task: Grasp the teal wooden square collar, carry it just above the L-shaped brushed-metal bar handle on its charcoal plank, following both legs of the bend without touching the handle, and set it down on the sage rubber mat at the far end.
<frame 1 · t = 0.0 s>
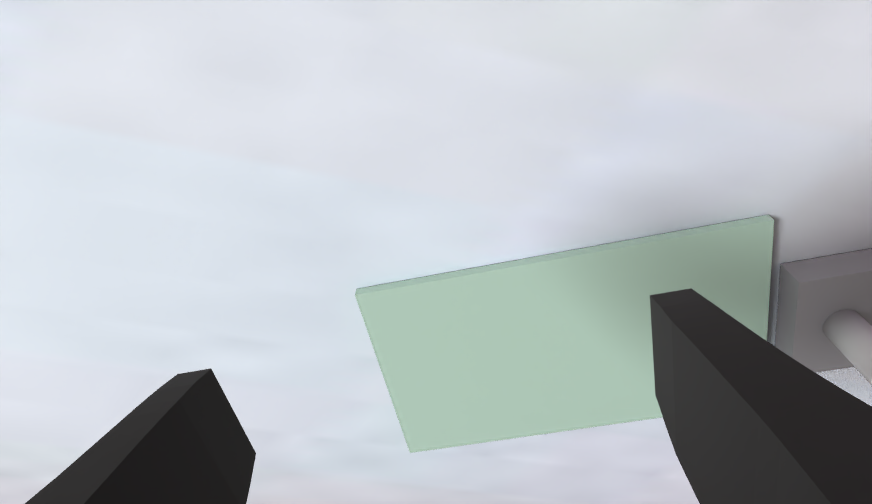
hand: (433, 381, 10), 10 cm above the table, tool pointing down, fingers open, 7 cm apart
end mat: (566, 344, 22), on the table
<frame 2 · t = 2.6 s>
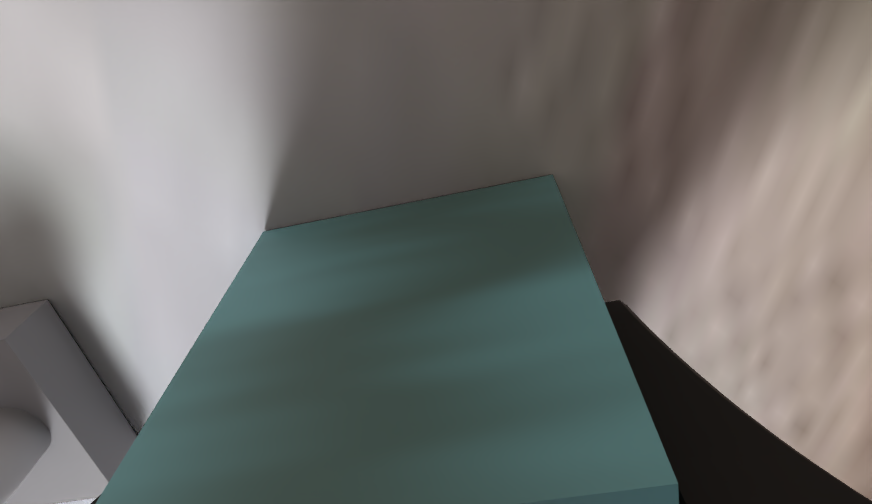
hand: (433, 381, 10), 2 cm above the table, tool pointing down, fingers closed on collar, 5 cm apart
collar: (436, 322, 11), on the table, touching gripper
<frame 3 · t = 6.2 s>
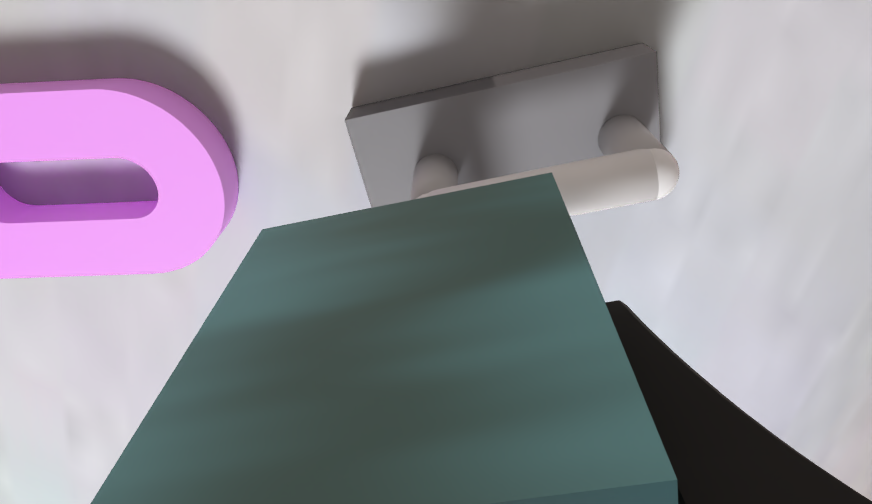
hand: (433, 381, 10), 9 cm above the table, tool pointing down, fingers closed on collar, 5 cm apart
bracket: (32, 173, 18), on the table
bar handle: (436, 159, 17), on the table
collar: (435, 320, 11), point 7 cm above the table, touching gripper
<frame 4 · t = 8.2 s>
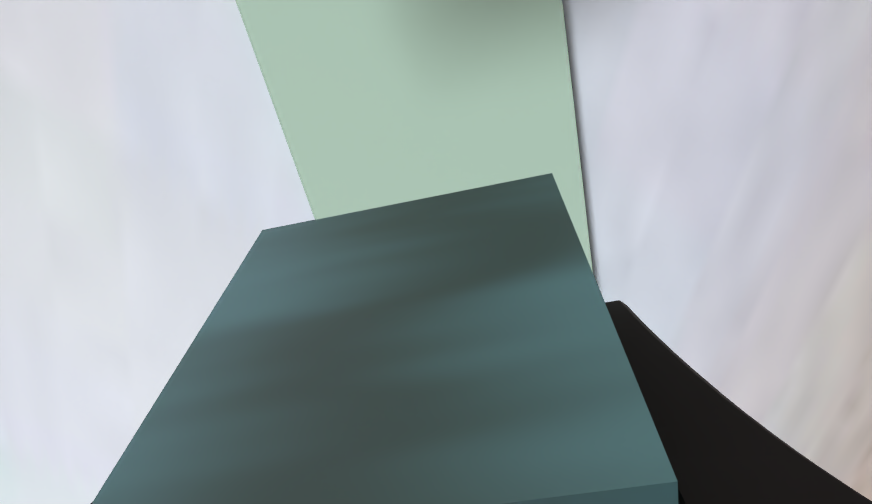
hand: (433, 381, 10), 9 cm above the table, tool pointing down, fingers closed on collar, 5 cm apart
end mat: (443, 184, 17), on the table
collar: (435, 321, 11), point 7 cm above the table, touching gripper
when the fingers open (4 cm above the table, at t = 9.9 s): collar drops 1 cm, resting on end mat.
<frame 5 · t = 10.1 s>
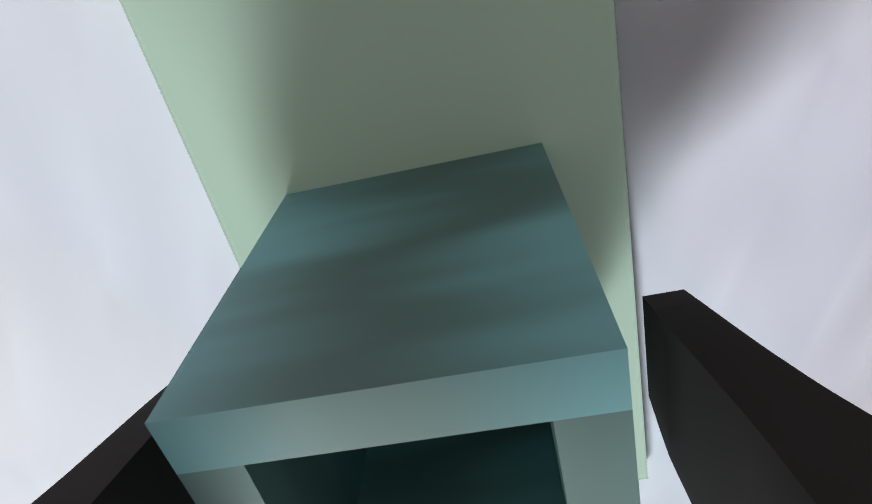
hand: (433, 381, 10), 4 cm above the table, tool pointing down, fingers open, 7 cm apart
end mat: (438, 270, 13), on the table
collar: (438, 278, 12), resting on end mat
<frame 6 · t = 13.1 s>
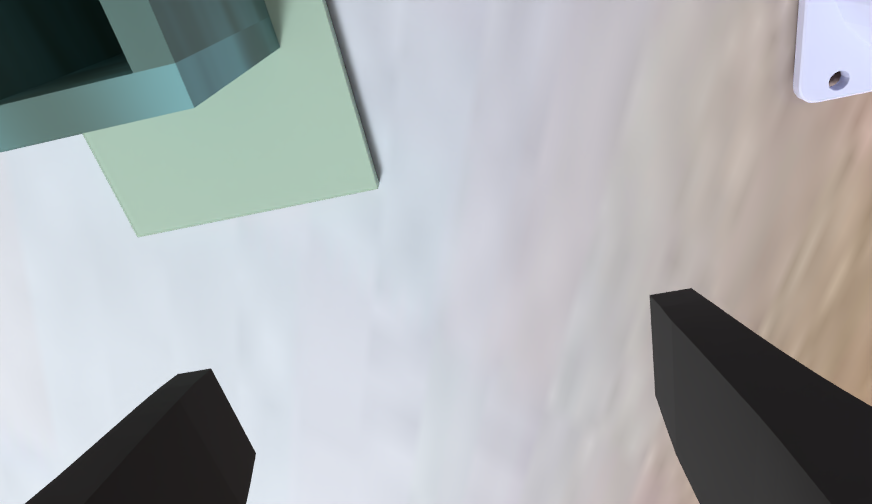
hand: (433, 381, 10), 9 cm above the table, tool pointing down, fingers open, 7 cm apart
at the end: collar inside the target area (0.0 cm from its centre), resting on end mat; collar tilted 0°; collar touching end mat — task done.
